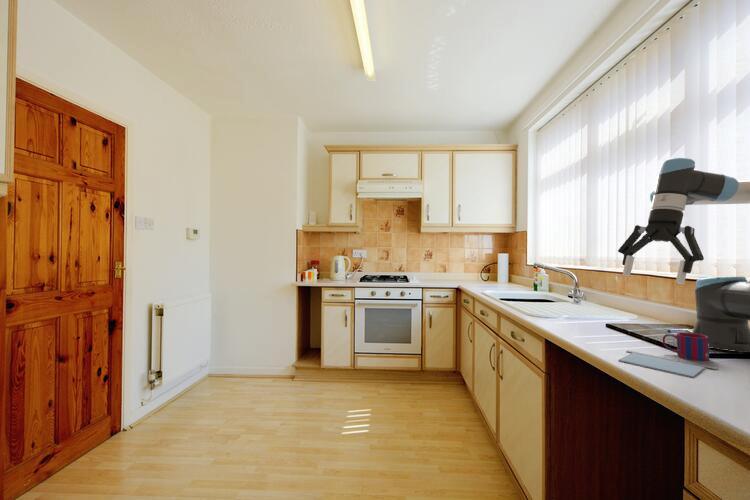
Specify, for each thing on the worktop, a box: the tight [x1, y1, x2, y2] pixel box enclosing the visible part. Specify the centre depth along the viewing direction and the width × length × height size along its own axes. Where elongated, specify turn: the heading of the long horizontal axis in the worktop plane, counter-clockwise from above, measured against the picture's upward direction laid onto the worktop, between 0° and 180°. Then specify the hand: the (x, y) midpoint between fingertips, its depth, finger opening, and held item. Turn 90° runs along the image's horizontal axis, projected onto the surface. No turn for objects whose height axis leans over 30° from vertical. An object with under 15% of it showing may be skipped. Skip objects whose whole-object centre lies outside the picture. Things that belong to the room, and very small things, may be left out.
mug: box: [662, 332, 710, 362], centre depth 97 cm, size 7×10×7 cm
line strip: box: [625, 349, 719, 371], centre depth 94 cm, size 2×20×1 cm, turn 33°
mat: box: [617, 353, 706, 379], centre depth 90 cm, size 11×16×1 cm
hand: (651, 279), depth 95 cm, fingers open, 13 cm apart
